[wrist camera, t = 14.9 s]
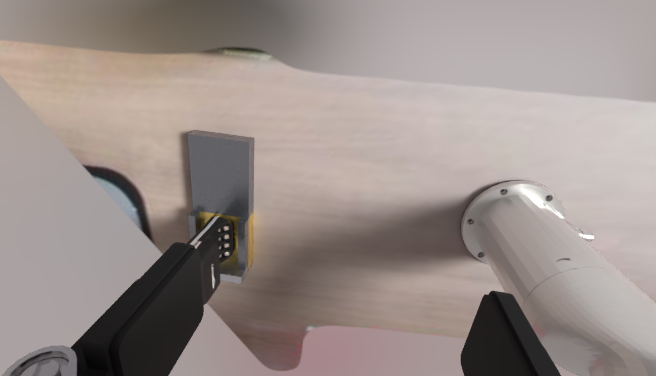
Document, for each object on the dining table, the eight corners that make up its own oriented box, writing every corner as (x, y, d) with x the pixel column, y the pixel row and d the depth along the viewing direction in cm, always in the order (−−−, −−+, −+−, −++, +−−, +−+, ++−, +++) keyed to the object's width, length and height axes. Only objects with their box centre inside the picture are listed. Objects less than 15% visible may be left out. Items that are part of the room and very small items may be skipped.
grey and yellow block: (254, 138, 43) (240, 149, 38) (252, 262, 51) (241, 283, 47) (194, 130, 43) (174, 140, 39) (202, 254, 52) (186, 275, 47)
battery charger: (239, 258, 49) (204, 316, 38) (214, 254, 49) (172, 311, 38) (238, 216, 46) (200, 268, 35) (211, 213, 46) (166, 262, 36)
